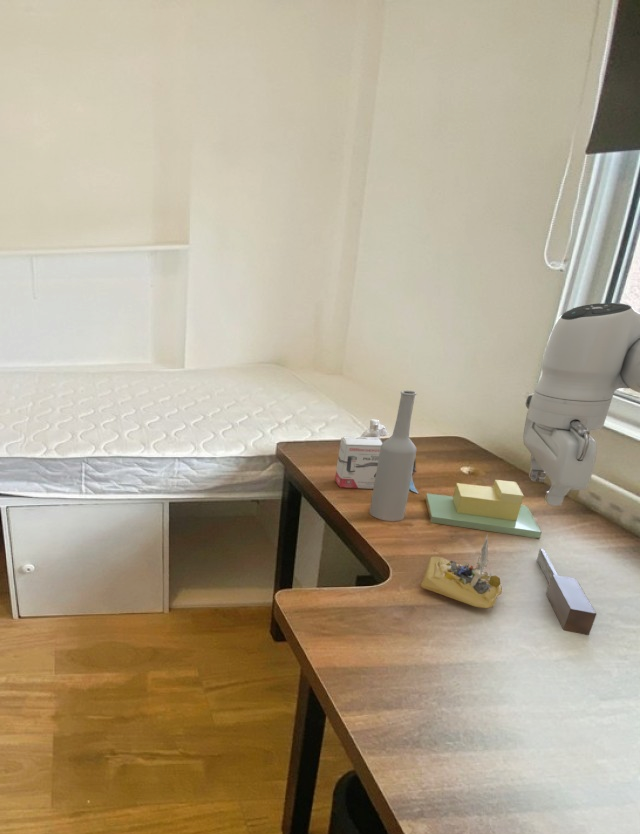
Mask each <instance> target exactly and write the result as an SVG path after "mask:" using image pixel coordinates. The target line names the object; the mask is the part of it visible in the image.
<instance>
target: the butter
mask: <svg viewBox="0 0 640 834" xmlns="http://www.w3.org/2000/svg"><path fill="white" fill-rule="evenodd" d="M453 501H454V504H455V507H456V511H457V513H463V514H470V515H478V516H485V517H492V518H499V519H507V520H514V521H517V518H518V515H519V511H520V507H521V505H522V504H521V503H513V502H505V501H500V500H499V498H498V496H497V494H496V492H495V490H494V487H493V486H485V485H478V484H477V485H476V484H469V483H461V482H460V483H459V482H456V483H455V487H454V491H453Z"/></svg>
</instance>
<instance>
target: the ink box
mask: <svg viewBox="0 0 640 834" xmlns="http://www.w3.org/2000/svg"><path fill="white" fill-rule="evenodd" d="M383 442H384V441H383V440H382V439H381V438H380V439H379V438H377V437H361V436H343V437H341V438H340V444H339V449H338V457H337V462H336V463H337V465H336V468H335V469H336V470H335V476H334V480H335V482H336V484H337V486H338V487H339V488H343V489H366V490H367V489H368V490H369V489H370V490H373V488H374V482H375V477H376V471H377V466H378V460H379V455H380V449H381V445H382V443H383Z"/></svg>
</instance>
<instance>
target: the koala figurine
mask: <svg viewBox="0 0 640 834" xmlns="http://www.w3.org/2000/svg"><path fill="white" fill-rule="evenodd" d="M387 435H389V432H388V431H387V428H386V427H385V425H383V424H381V423H380V420H379V419H377V418H376V419H375V418H371V419H370V421H369V428H368V429H366V430H364V432H362V434H361V436H360V437H377V438H379V439H381V437H385V436H387Z"/></svg>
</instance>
